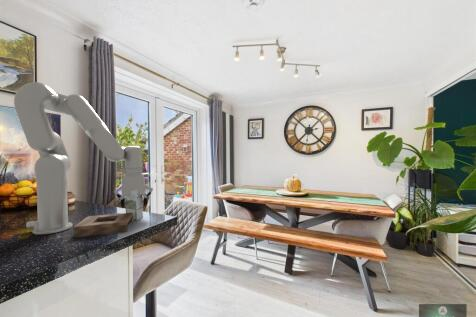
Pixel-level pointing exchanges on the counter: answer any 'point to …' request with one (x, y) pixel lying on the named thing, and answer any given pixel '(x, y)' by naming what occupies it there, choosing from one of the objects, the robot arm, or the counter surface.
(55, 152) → the robot arm
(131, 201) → the syrup box
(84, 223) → the walnut stand
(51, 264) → the counter surface
